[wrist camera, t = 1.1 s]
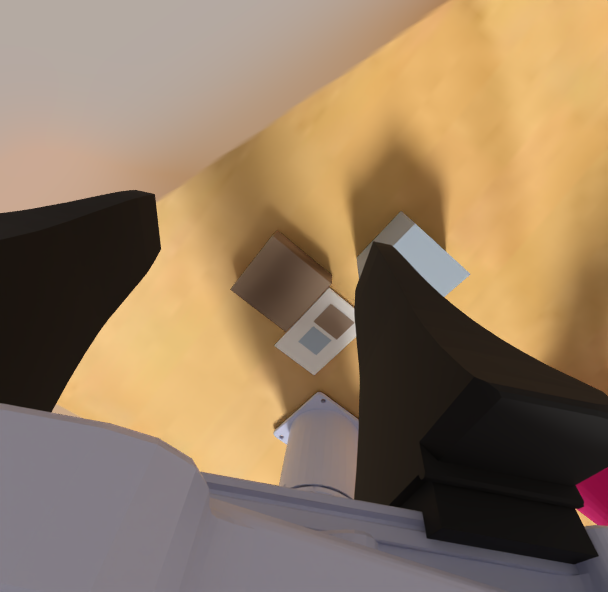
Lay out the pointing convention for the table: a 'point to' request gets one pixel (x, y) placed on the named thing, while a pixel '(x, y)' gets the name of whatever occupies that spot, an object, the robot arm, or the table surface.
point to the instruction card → (320, 332)
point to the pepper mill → (595, 497)
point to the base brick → (282, 281)
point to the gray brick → (419, 254)
